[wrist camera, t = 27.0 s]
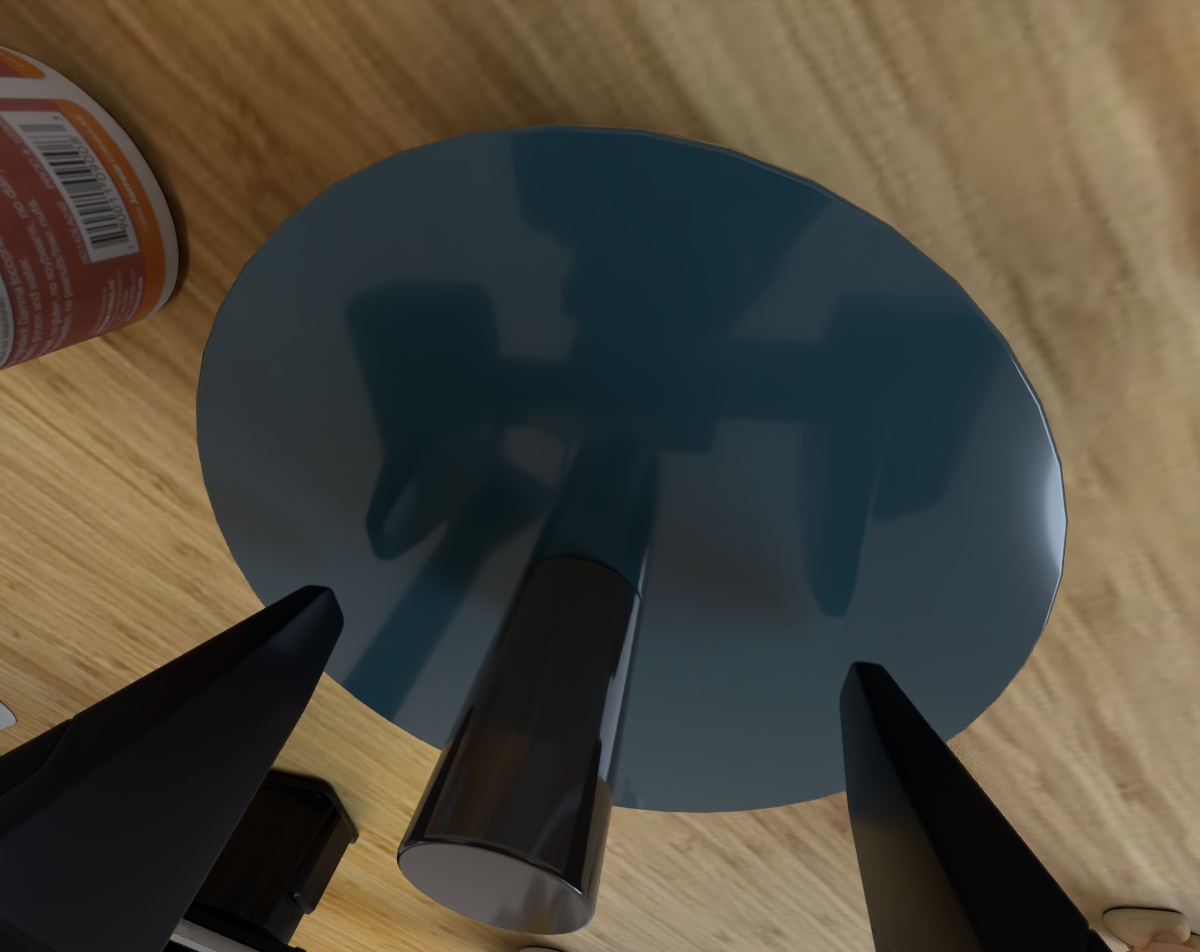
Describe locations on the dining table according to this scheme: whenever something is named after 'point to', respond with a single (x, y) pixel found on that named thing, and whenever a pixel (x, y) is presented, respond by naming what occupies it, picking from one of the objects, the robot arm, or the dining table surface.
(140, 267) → the pill bottle
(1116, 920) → the grandmother figurine
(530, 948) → the flower vase
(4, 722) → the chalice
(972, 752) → the dining table surface
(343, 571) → the lid
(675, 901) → the dining table surface
